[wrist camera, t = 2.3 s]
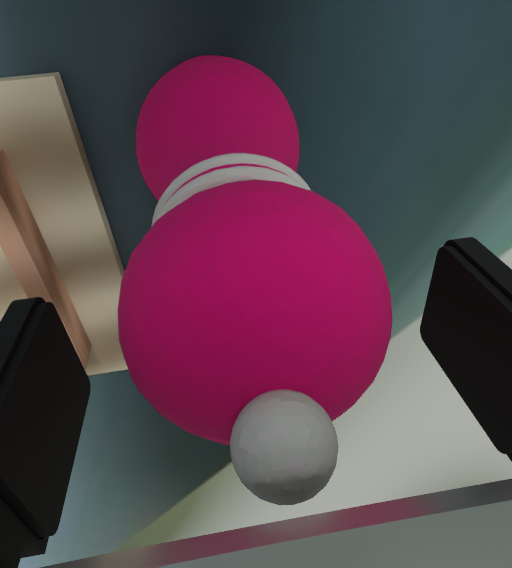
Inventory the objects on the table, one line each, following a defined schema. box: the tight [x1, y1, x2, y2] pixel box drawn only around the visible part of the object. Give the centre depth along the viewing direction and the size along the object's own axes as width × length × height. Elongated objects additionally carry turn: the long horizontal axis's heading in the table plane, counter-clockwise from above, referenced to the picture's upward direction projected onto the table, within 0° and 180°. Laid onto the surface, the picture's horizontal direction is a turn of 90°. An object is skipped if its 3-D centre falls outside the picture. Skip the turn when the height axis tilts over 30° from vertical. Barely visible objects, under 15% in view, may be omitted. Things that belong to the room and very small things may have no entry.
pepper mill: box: [118, 55, 392, 505], centre depth 14 cm, size 7×7×20 cm
